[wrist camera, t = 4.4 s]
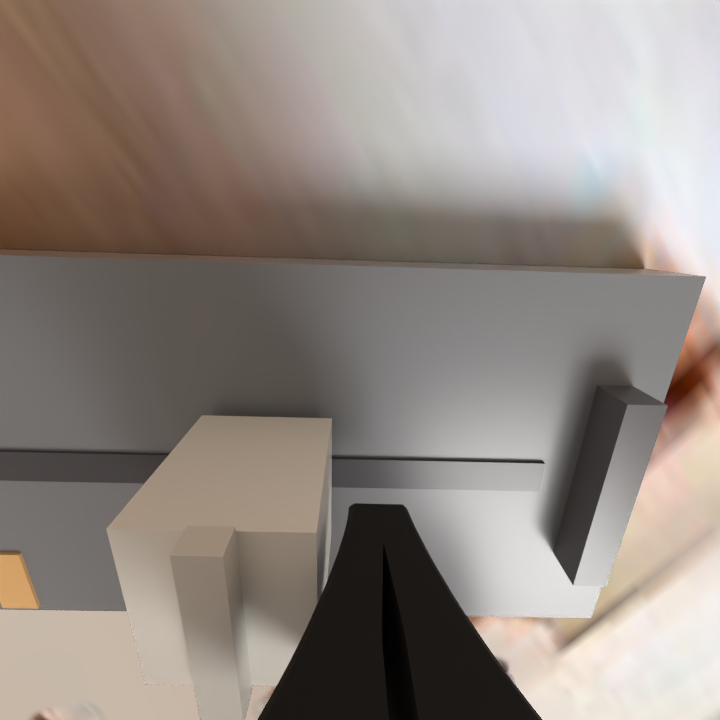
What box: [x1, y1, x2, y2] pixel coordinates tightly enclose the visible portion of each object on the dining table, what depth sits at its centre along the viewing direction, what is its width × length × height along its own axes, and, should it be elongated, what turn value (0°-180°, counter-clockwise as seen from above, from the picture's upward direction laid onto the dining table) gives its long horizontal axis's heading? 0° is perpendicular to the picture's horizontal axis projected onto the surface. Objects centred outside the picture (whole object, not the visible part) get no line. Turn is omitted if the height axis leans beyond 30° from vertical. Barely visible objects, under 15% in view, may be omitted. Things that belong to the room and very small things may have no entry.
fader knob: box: [106, 415, 332, 720], centre depth 8 cm, size 4×4×5 cm
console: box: [0, 249, 706, 618], centre depth 11 cm, size 12×28×3 cm, turn 88°
